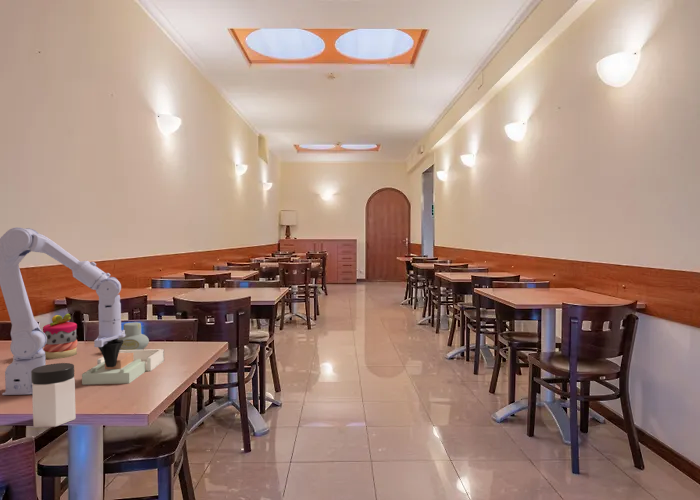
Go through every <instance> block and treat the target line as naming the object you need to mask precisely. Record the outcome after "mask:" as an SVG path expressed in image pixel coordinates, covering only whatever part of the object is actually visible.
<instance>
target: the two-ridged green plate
mask: <svg viewBox="0 0 700 500" xmlns="http://www.w3.org/2000/svg"><path fill="white" fill-rule="evenodd" d="M145 372H147V371H146V362H141V359H136V360H135V361H133V362H131V363H129V364H127V365H126V366H124V367H123V368H121V369H105V361H104V362H102V363H100V364H98V365H95V366H93V367H91V368H89V369H88V370H87V371H85V372H82V373H81V385H84V386H85V385H108V384H109V385H111V384H113V385H114V384H115V385H116V384H120V385H121V384H131V383H132V382H133V381H135V380H136V379H137V378H139V377H140V376H141V375H143V374H145Z"/></svg>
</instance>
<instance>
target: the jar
mask: <svg viewBox="0 0 700 500" xmlns="http://www.w3.org/2000/svg"><path fill="white" fill-rule="evenodd" d="M31 379H32V394H31V396H32V424H33V428H35V429H37V428H54V427H59V426H61V425H64V424H66V423H69V422H72V421H75V419H76V384H75V383H76V382H75V381H76V380H75V365H74V364H73V363H72V362H71V363H70V362H61V363H60V362H59V363H56V362H55V363H51V364H46V365H44V366H40V367H37V368H34V369H33V370H32V371H31Z"/></svg>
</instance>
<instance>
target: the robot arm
mask: <svg viewBox="0 0 700 500" xmlns="http://www.w3.org/2000/svg"><path fill="white" fill-rule="evenodd" d="M31 252H34V253H40V254H46V255H47V256H49V257H50V258H52V259H54V260H55V261H57V262H58V263H60V264H62V265H63V266H65V267H66V268H69V270H71V272H72V277H73V278H74V279H76V280H77V281H79V282H80V283H82V284H83V285H85V286H86V287H88V288H89V289H91V290H93V291H95V293H96V295H97V296H98V336H97V337H96V339H94V341H93V342H94V343H93V345H94V346H93V347H94V348H98V350H99V351H100V353H101V354H102V357H104V360H105V364H106V367H114V366H116V362H117V358H118V354H119V350H120V348H121V346H122V344H123V340H118V339H119V338H122V337H125V336H126V335H125V330H124V329H122V303H121V295H120V293H121V290H122V284H121V282H120V281H119V280H118V278H117V277H114V276H111V274H110V273H109V272H105V271H103V270H102V269H101V268H99V267H98V266H97V263H96V262H95V261H91V262H90V261H89V260H81V261H80V260H79V259H78V258H77V257H76V256H74V255H73V254H71V253H70V252H68V250H66V249H64V248H63V247H62V246H61V245H59V244H58V243H56V242H55V241H54V240H52V239H50V238H49V237H47V236H46V235H44V234H42V233H39V232H38V231H37V230H35V229H34V228H30V227H28V228H23V227H11V228H10V229H7V231H6V232H5V233H4V234H3V235H2V236H0V289H1V292H2V296H3V299H4V303H5V307H6V309H7V314H8V316H9V320H10V323H11V329H10V337H11V343H10V349H9V350H10V352H11V354H12V355H13V357H12V358H13V359H12V362H11V363H10V364H8V366H7V367H6V368H5V371H4V376H5V377H4V378H5V380H4V381H5V385H4V387H5V391H4V392H2V396H14V395H15V396H16V395H19V396H20V395H32V379H31V371H32V370H33V369H34V368H37V367H40V366H44V365H47V364H46V358H45V352H44V350H43V348H44V346H45V345H46V342H47V337H46V335H45V333H44V332H43V329H41V327H40V324H39V322H37V320H36V319H35V317H34V313H33V310H32V306H31V304H30V300H29V296H28V292H27V290H26V286H25V283H24V279H23V276H22V273H21V269H20V267H19V265H20V263H21V262H22V260H24V259H25V257H26V256H27V255H28V254H29V253H31Z"/></svg>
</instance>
